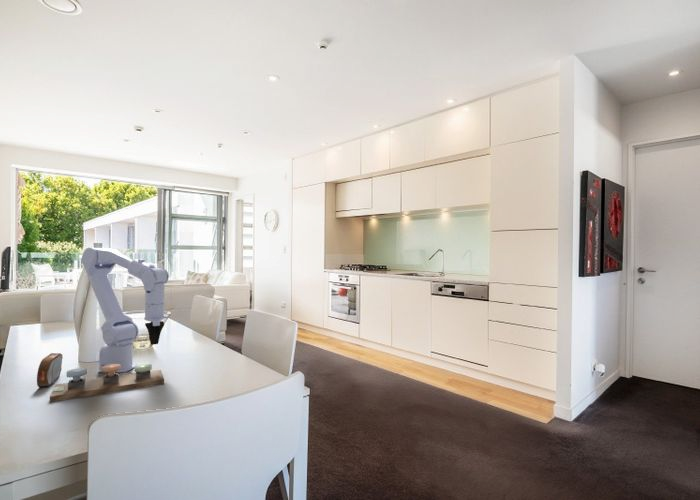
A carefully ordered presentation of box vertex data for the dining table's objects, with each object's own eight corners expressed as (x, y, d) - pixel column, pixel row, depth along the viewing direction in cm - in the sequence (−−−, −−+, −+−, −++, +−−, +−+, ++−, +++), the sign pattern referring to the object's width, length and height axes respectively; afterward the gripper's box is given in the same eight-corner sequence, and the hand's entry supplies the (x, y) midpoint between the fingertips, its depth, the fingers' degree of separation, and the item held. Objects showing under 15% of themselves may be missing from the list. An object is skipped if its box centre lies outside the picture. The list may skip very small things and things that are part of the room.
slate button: (65, 384, 106) (65, 374, 106) (67, 380, 110) (67, 369, 110) (86, 381, 108) (86, 371, 108) (87, 377, 113) (87, 367, 113)
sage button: (134, 379, 115) (134, 369, 115) (134, 374, 119) (134, 365, 119) (152, 376, 117) (152, 366, 117) (151, 372, 121) (151, 363, 122)
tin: (52, 375, 124) (52, 350, 124) (63, 374, 125) (64, 349, 125) (35, 391, 110) (35, 362, 110) (48, 389, 111) (48, 361, 111)
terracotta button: (101, 379, 110) (101, 369, 110) (102, 375, 114) (102, 365, 115) (120, 377, 113) (120, 367, 113) (120, 372, 117) (120, 363, 117)
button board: (49, 402, 102) (49, 389, 102) (55, 389, 111) (55, 378, 111) (164, 383, 116) (164, 373, 116) (160, 374, 126) (160, 364, 126)
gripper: (170, 305, 123) (169, 347, 123) (165, 300, 135) (165, 338, 135) (145, 306, 119) (145, 349, 119) (143, 301, 131) (142, 340, 131)
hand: (154, 344), depth 127 cm, fingers closed
